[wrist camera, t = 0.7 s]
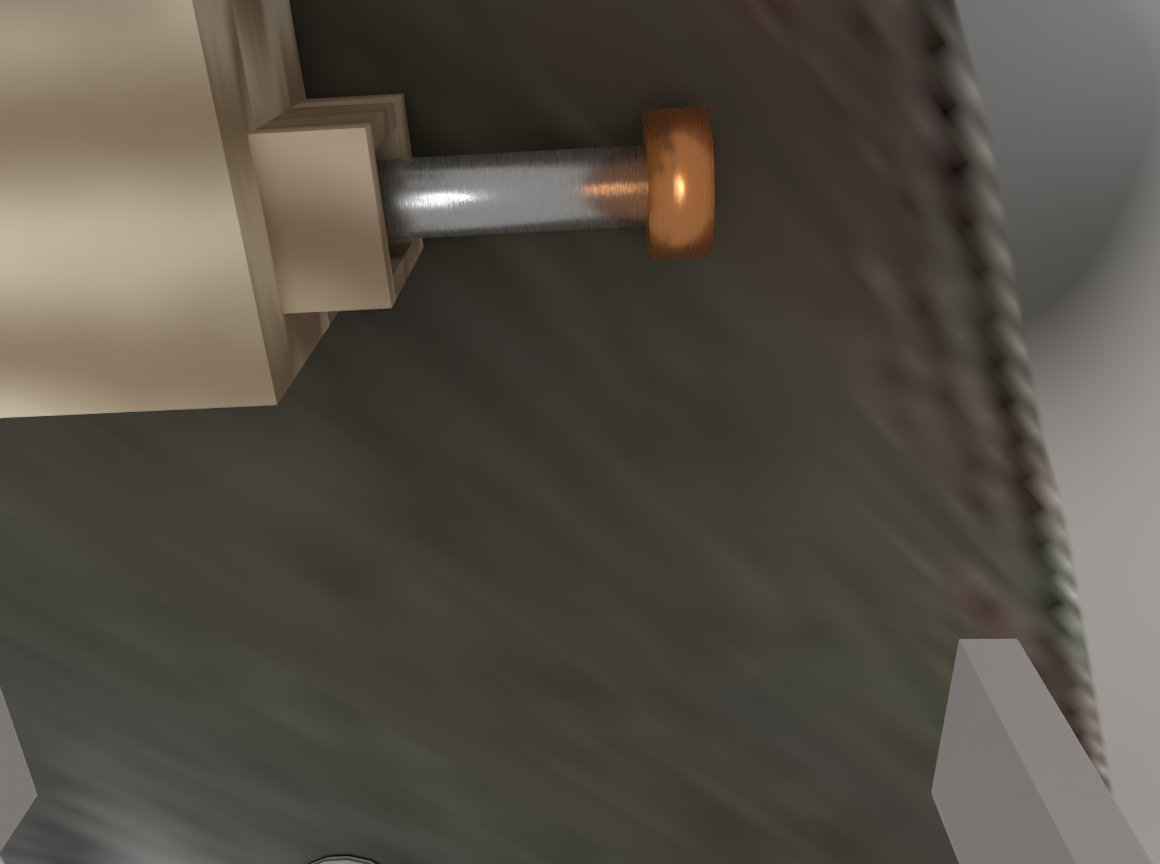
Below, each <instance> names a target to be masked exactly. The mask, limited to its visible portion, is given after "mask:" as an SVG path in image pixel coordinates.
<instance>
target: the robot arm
mask: <svg viewBox="0 0 1160 864" xmlns="http://www.w3.org/2000/svg"><path fill="white" fill-rule="evenodd" d="M931 793H932V796H933V799H934V801H935V804H936V806H937V809H938V811H939V814H940V816H941V819H942V821H943V824H944V827H945V829H946V832H947V834H948V837H949V839H950V842H951V844H952V847H953V849H954V852H955V855H956V857H957V860H958V862H959V864H1152V862H1151V861H1150V859H1149V857H1148V855H1147V854H1146V852H1145V850H1144V849H1143V847H1142V845H1141V844H1140V842H1139V841H1138V839H1137V837H1136V835H1135V834H1134V832H1133V831H1132V829H1131V827H1130V826H1129V824H1128V822H1127V821H1126V819H1125V817H1124V816H1123V814H1122V812H1121V811H1120V809H1119V807H1118V806H1117V804H1116V802H1115V801H1114V799H1113V797H1112V796H1111V794H1110V792H1109V791H1108V789H1107V787H1106V786H1105V784H1104V782H1103V781H1102V779H1101V777H1100V776H1099V774H1098V772H1097V771H1096V769H1095V767H1094V766H1093V764H1092V762H1091V761H1090V759H1089V757H1088V756H1087V754H1086V752H1085V751H1084V749H1083V747H1082V746H1081V744H1080V742H1079V741H1078V739H1077V738H1076V736H1075V734H1074V733H1073V731H1072V729H1071V728H1070V726H1069V724H1068V723H1067V721H1066V719H1065V718H1064V716H1063V714H1062V713H1061V711H1060V709H1059V708H1058V706H1057V704H1056V703H1055V701H1054V699H1053V698H1052V696H1051V694H1050V693H1049V691H1048V689H1047V688H1046V686H1045V684H1044V683H1043V681H1042V679H1041V678H1040V676H1039V674H1038V673H1037V671H1036V669H1035V668H1034V666H1033V664H1032V663H1031V661H1030V659H1029V658H1028V656H1027V654H1026V653H1025V651H1024V649H1023V648H1022V646H1021V645H1020V643H1019V641H1018V640H1017V639H959V643H958V648H957V654H956V659H955V665H954V670H953V676H952V681H951V687H950V692H949V698H948V703H947V709H946V714H945V720H944V725H943V731H942V736H941V742H940V747H939V753H938V758H937V764H936V769H935V775H934V780H933V786H932V791H931ZM36 796H37V793H36V790H35V787H34V784H33V781H32V778H31V775H30V772H29V769H28V767H27V764H26V761H25V758H24V755H23V752H22V749H21V746H20V743H19V740H18V737H17V735H16V732H15V729H14V726H13V723H12V720H11V717H10V714H9V711H8V708H7V705H6V702H5V700H4V697H3V694H2V691H1V688H0V852H1V850H2V849H3V847H4V846H5V844H6V842H7V841H8V839H9V838H10V836H11V835H12V833H13V832H14V830H15V829H16V827H17V826H18V824H19V823H20V821H21V819H22V818H23V816H24V815H25V813H26V812H27V810H28V809H29V807H30V806H31V804H32V803H33V801H34V800H35V798H36Z"/></svg>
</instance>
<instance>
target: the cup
mask: <svg viewBox="0 0 1160 864" xmlns="http://www.w3.org/2000/svg"><path fill="white" fill-rule="evenodd" d="M311 864H375V863H373V862H372V861H369V860H365V859H360V858H356V857H351V856H340V857H327V858H324V859H321V860H319V861H316V862H314V863H311Z"/></svg>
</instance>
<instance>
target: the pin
mask: <svg viewBox="0 0 1160 864" xmlns="http://www.w3.org/2000/svg"><path fill="white" fill-rule="evenodd" d="M376 164H377V171H378V178H379V185H380V192H381V199H382V206H383V213H384V220H385V227H386V234H387V240H396V239H415V238H434V237H453V236H472V235H491V234H510V233H529V232H548V231H568V230H587V229H606V228H625V227H644V226H645V236H646V248H647V256H648V260H658V259H677V258H697V257H710V255H711V251H712V245H713V235H714V213H715V182H714V156H713V141H712V131H711V123H710V116H709V112H708V108H707V107H706V106H694V107H677V108H659V109H643V112H642V145H634V146H616V147H598V148H580V149H562V150H544V151H526V152H508V153H490V154H471V155H453V156H435V157H417V158H399V159H381V160H376Z"/></svg>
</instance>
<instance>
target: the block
mask: <svg viewBox="0 0 1160 864" xmlns="http://www.w3.org/2000/svg"><path fill="white" fill-rule="evenodd" d="M399 158H412V153H411V146H410V138H409V130H408V122H407V115H406V107H405V99H404V93H402V94H385V95H368V96H350V97H333V98H315V99H306V96H305V90H304V84H303V78H302V72H301V66H300V60H299V55H298V49H297V43H296V37H295V31H294V25H293V19H292V13H291V8H290V2H289V0H0V418H9V417H30V416H52V415H73V414H95V413H116V412H137V411H159V410H180V409H201V408H223V407H244V406H265V405H277V404H278V403H279V401H280V400H281V398H282V397H283V395H284V394H285V392H286V391H287V389H288V388H289V386H290V385H291V383H292V382H293V380H294V379H295V377H296V376H297V374H298V373H299V371H300V370H301V368H302V366H303V365H304V363H305V362H306V360H307V359H308V357H309V356H310V354H311V353H312V351H313V350H314V348H315V347H316V345H317V344H318V342H319V341H320V339H321V338H322V336H323V335H324V333H325V332H326V330H327V328H328V327H329V325H330V324H331V322H332V321H333V319H334V318H335V316H336V315H337V313H338V312H339V311H345V310H365V309H385V308H392V307H393V305H394V303H395V301H396V299H397V297H398V295H399V293H400V291H401V290H402V288H403V286H404V284H405V282H406V280H407V278H408V276H409V274H410V272H411V271H412V269H413V267H414V265H415V263H416V261H417V259H418V257H419V255H420V253H421V251H422V250H423V248H424V247H423V239H422V238H415V239H396V240H387V234H386V227H385V220H384V213H383V206H382V199H381V192H380V185H379V178H378V171H377V164H376V160H381V159H399Z"/></svg>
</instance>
